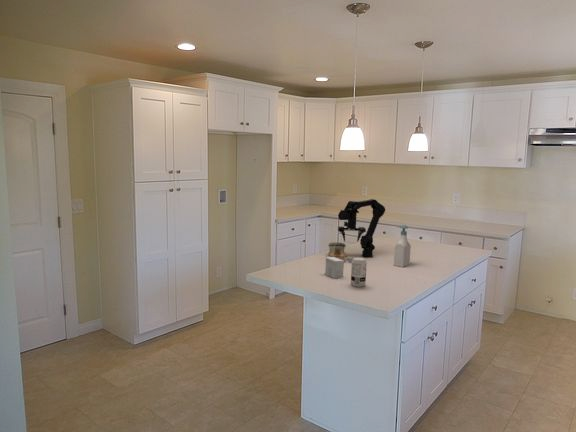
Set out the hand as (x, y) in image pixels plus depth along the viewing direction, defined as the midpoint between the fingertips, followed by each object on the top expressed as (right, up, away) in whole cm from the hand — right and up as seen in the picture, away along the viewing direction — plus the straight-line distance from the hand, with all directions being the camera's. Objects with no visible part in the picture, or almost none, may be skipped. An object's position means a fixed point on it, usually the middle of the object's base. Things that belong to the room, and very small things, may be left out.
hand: (351, 241), depth 294 cm
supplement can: (-5, -21, -57) cm, 61 cm away
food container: (-9, -12, +10) cm, 18 cm away
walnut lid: (-10, -9, -5) cm, 14 cm away
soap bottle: (+32, -16, -9) cm, 37 cm away
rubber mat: (+3, -14, -4) cm, 15 cm away
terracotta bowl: (-10, -14, -4) cm, 17 cm away
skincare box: (-16, -19, -39) cm, 46 cm away
